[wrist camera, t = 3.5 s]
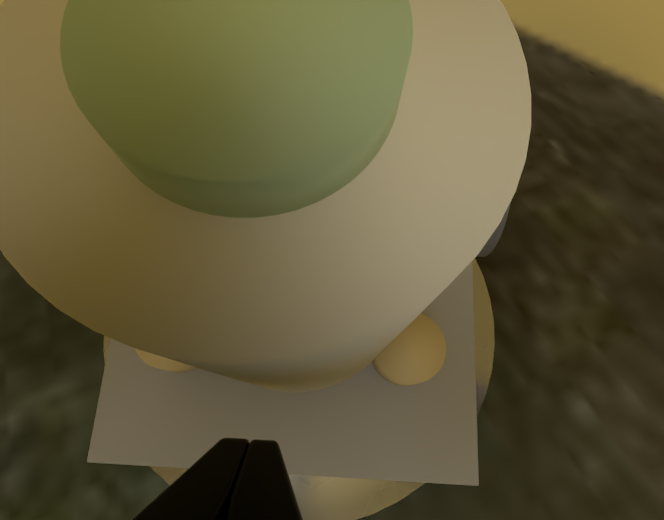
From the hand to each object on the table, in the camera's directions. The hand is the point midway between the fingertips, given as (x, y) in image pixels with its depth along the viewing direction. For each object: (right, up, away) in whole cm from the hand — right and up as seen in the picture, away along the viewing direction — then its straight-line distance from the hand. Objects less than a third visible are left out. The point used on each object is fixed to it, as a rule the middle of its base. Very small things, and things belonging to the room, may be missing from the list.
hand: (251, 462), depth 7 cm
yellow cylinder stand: (0, +2, +8) cm, 8 cm away
